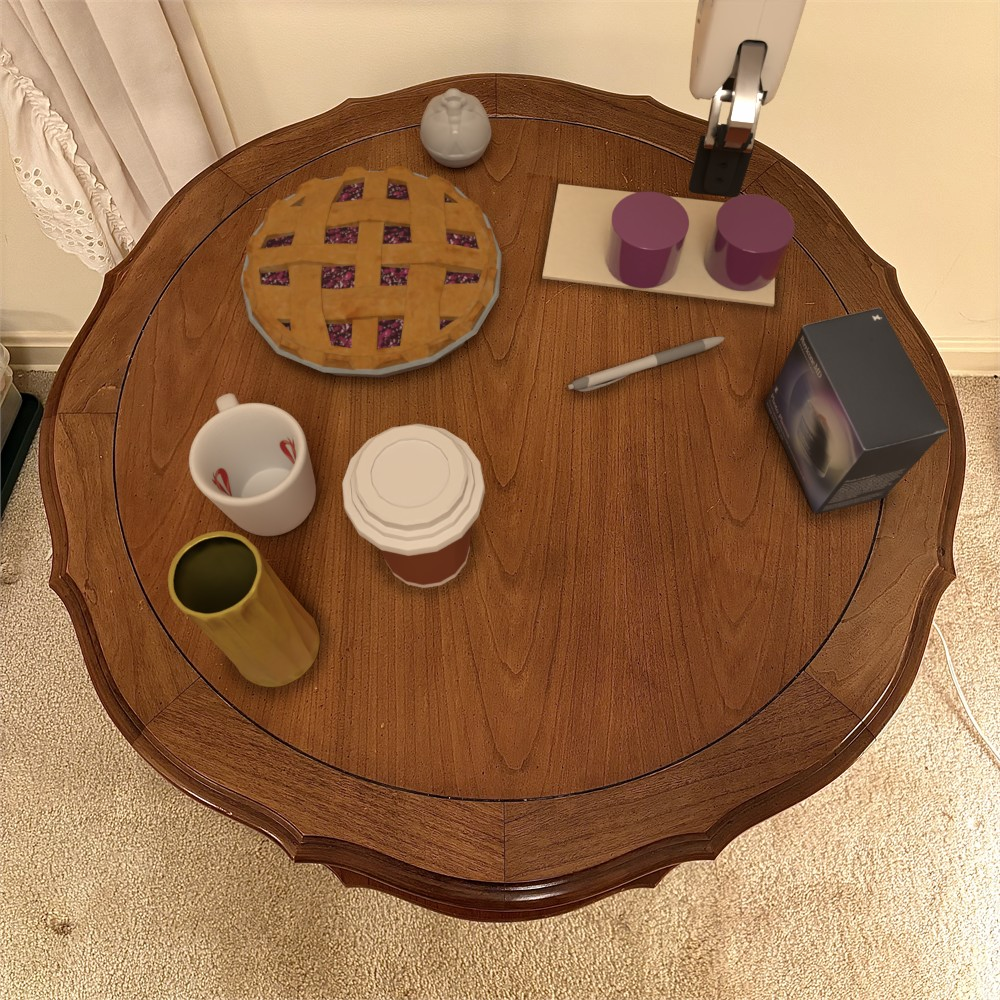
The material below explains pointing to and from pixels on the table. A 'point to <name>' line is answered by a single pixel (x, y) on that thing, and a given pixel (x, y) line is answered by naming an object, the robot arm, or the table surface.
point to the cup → (254, 466)
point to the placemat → (585, 238)
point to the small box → (851, 410)
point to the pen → (643, 364)
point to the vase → (244, 608)
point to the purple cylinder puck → (748, 242)
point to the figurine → (455, 129)
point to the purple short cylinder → (646, 239)
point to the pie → (371, 272)
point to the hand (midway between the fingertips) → (717, 138)
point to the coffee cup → (416, 500)
